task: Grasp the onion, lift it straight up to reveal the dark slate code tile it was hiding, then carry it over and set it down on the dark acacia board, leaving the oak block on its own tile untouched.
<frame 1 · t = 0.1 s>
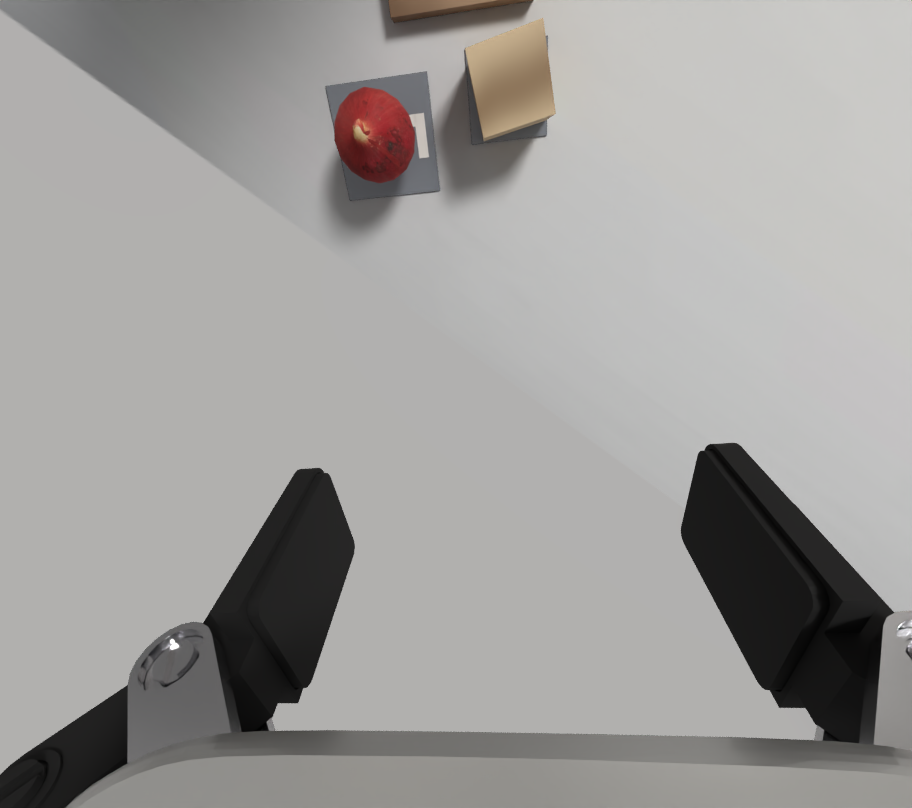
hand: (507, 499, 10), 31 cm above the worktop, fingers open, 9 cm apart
code tile: (385, 140, 33), on the worktop
onion: (385, 141, 33), resting on code tile
oak block: (507, 93, 31), resting on code tile 2
code tile 2: (507, 93, 31), on the worktop
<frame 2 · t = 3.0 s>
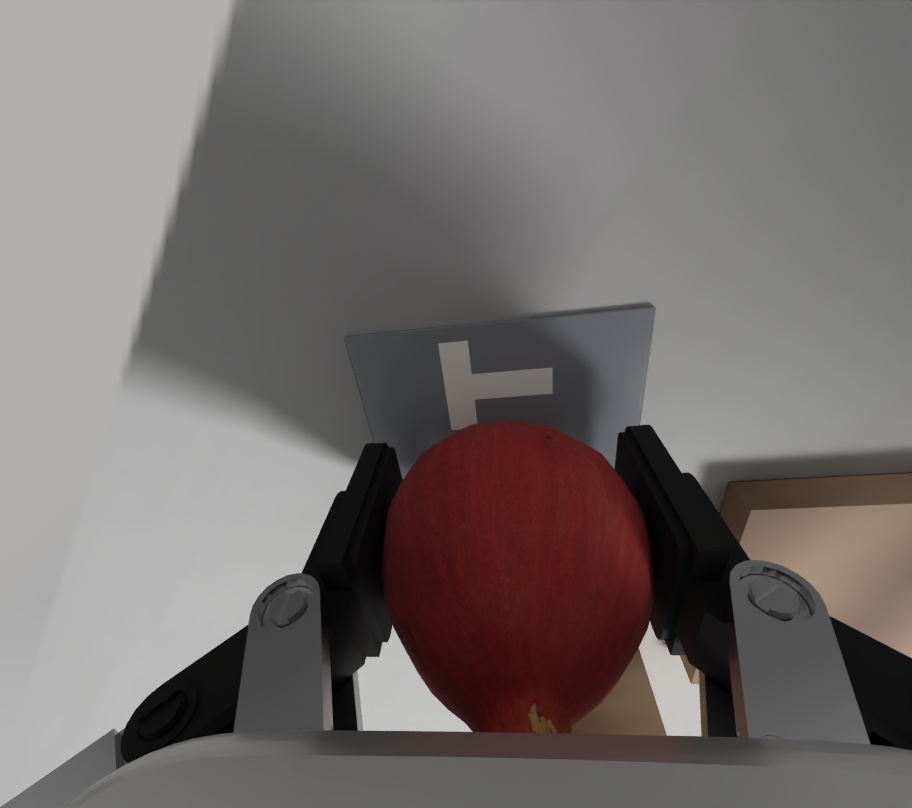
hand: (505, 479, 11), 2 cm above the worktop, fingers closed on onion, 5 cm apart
code tile: (502, 445, 12), on the worktop
onion: (502, 443, 12), resting on code tile, touching gripper
oak block: (564, 631, 17), resting on code tile 2
board: (875, 577, 14), on the worktop
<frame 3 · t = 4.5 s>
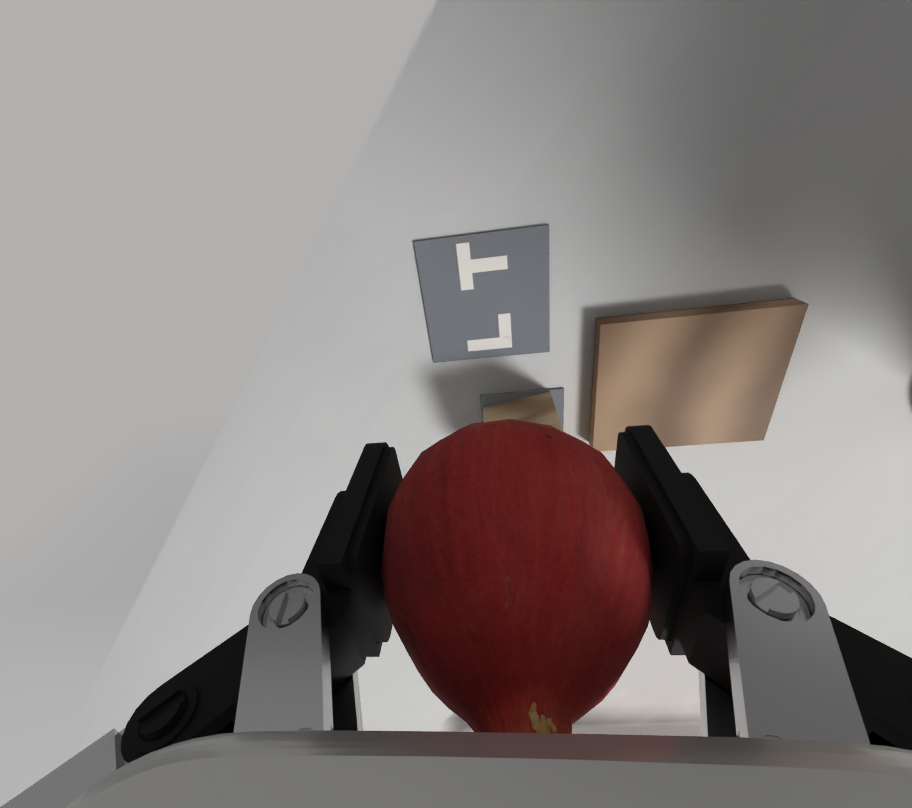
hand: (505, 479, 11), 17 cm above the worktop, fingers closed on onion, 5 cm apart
code tile: (485, 299, 26), on the worktop
onion: (502, 443, 12), point 15 cm above the worktop, touching gripper
oak block: (523, 426, 30), resting on code tile 2
code tile 2: (523, 425, 31), on the worktop
board: (680, 378, 28), on the worktop
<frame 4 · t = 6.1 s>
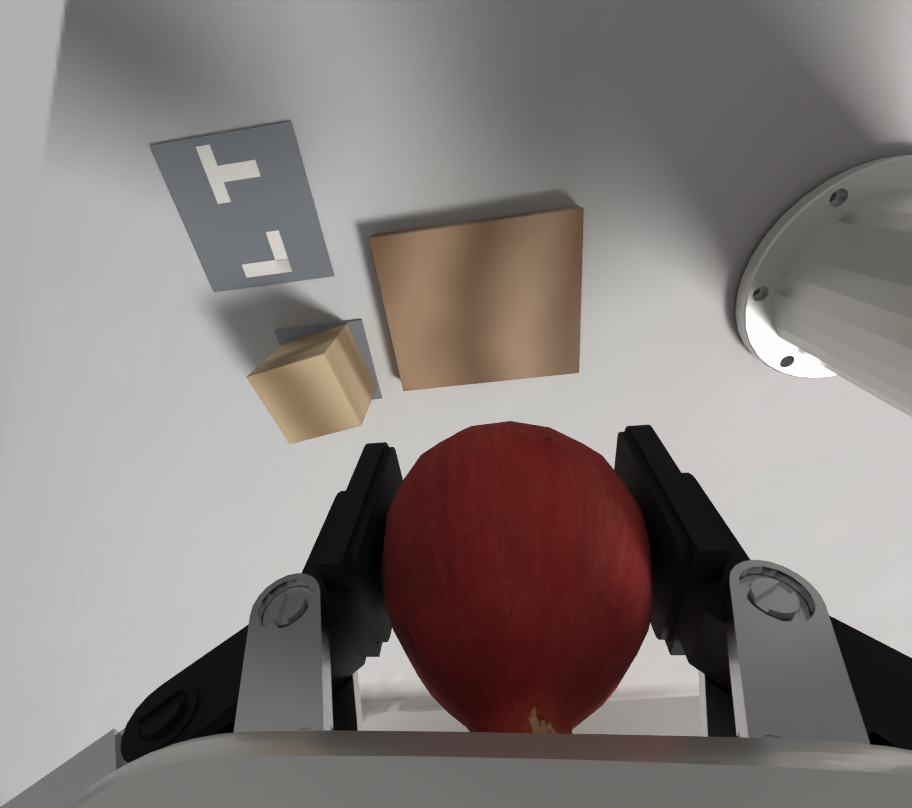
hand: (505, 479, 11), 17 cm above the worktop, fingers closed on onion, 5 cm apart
code tile: (248, 215, 23), on the worktop
onion: (502, 445, 12), point 15 cm above the worktop, touching gripper
oak block: (330, 366, 28), resting on code tile 2
code tile 2: (331, 365, 28), on the worktop
board: (481, 305, 26), on the worktop
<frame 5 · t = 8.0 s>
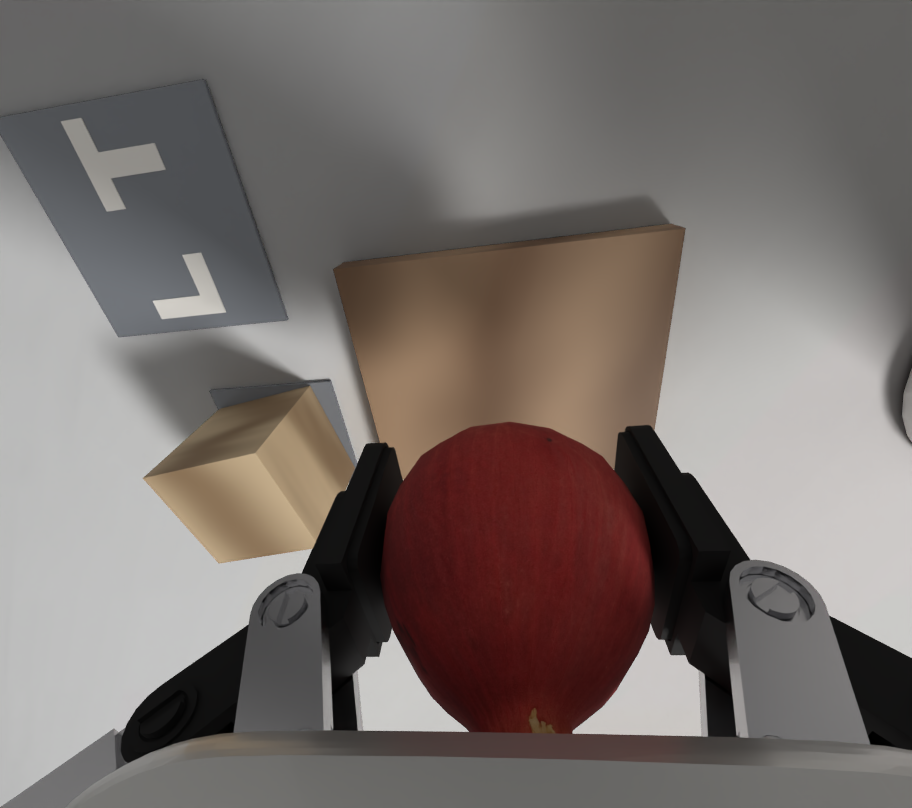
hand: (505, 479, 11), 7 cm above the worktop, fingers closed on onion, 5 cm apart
code tile: (155, 229, 15), on the worktop
onion: (502, 445, 12), point 6 cm above the worktop, touching gripper
oak block: (289, 439, 20), resting on code tile 2
code tile 2: (290, 437, 20), on the worktop
board: (506, 366, 17), on the worktop
when the fingers open (4 cm above the worktop, at t = 9.6 s): onion drops 1 cm, resting on board.
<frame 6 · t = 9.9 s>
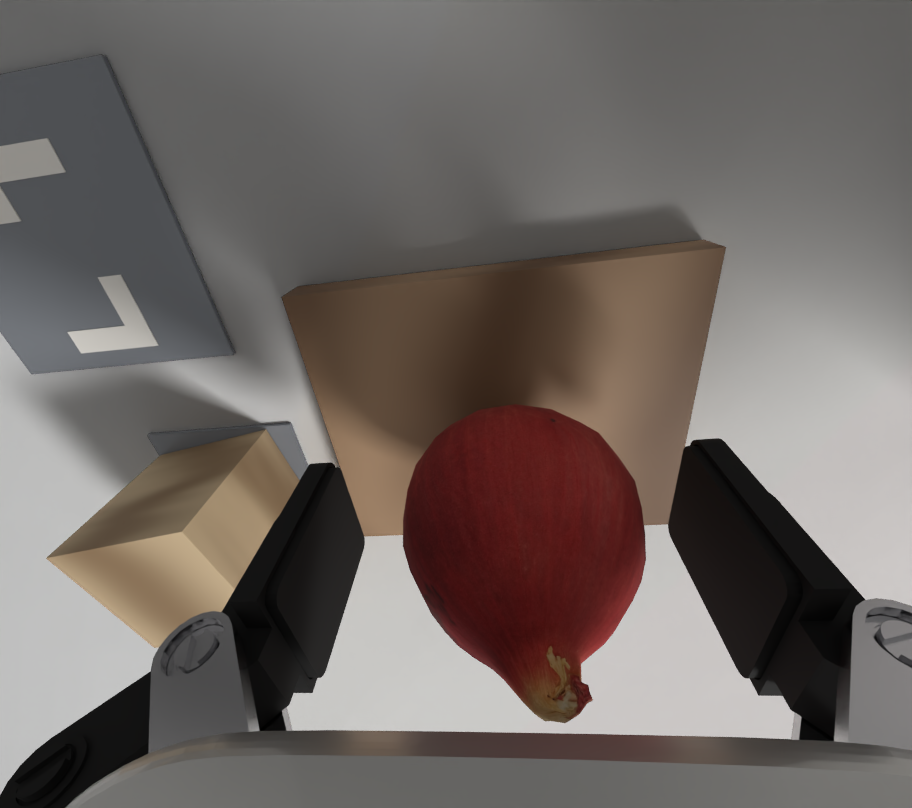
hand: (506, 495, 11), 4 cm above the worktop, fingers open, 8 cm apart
code tile: (62, 246, 12), on the worktop
onion: (503, 424, 13), point 1 cm above the worktop, touching board
oak block: (246, 488, 17), resting on code tile 2
code tile 2: (247, 486, 17), on the worktop
board: (500, 407, 14), on the worktop
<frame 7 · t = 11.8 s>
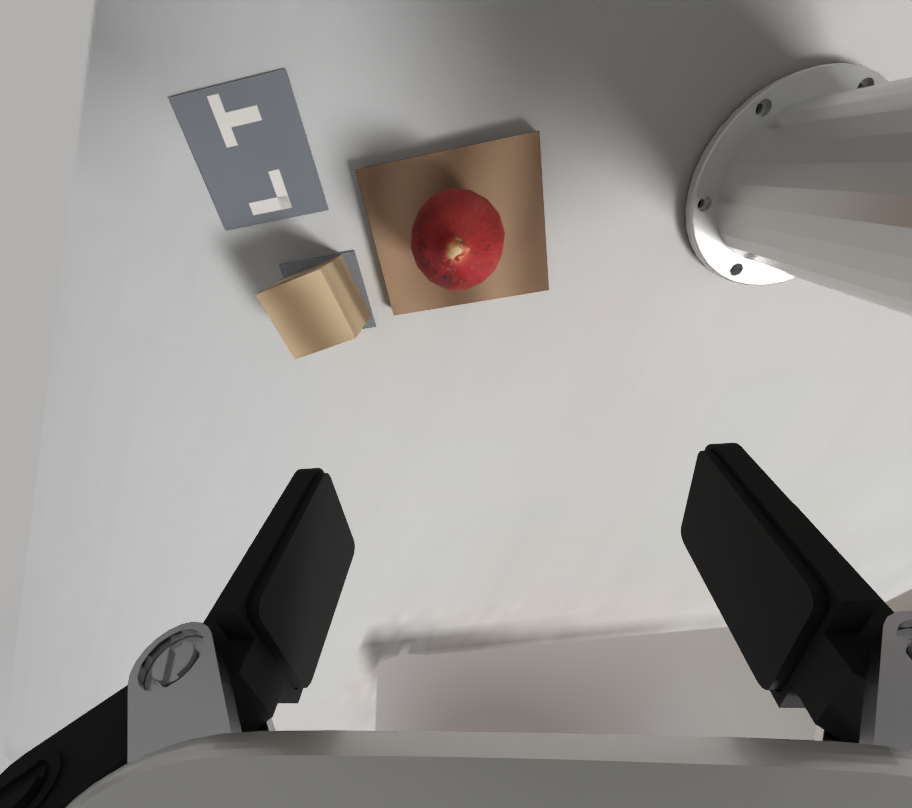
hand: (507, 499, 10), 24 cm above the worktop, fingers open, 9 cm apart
code tile: (253, 156, 27), on the worktop
onion: (459, 233, 28), point 1 cm above the worktop, touching board
oak block: (329, 296, 32), resting on code tile 2
code tile 2: (329, 296, 32), on the worktop
board: (458, 231, 29), on the worktop
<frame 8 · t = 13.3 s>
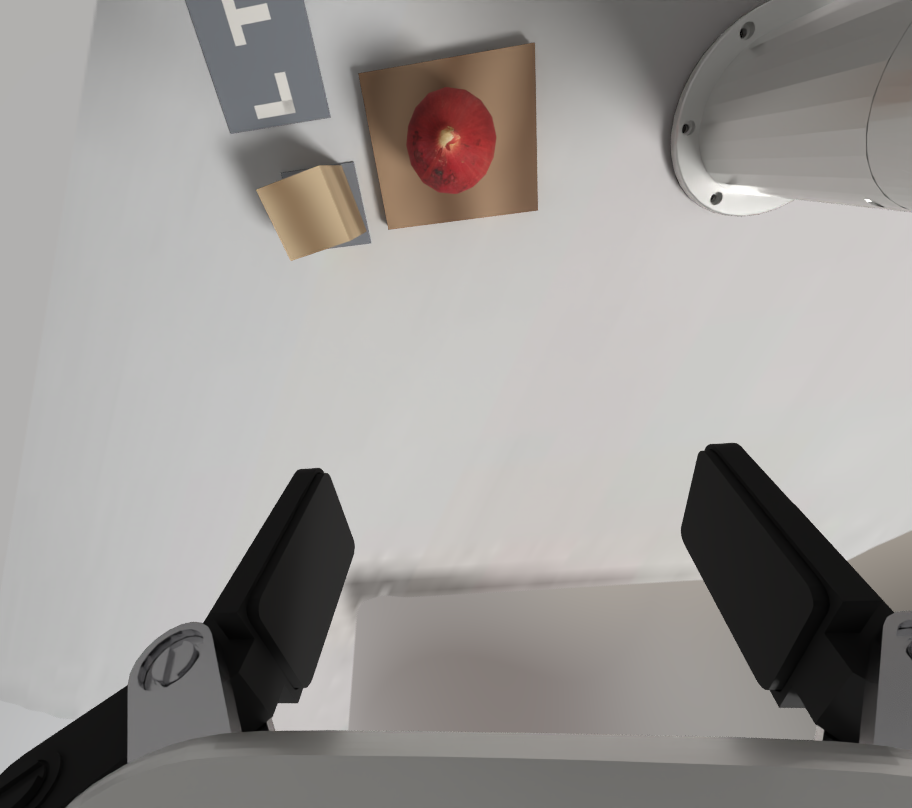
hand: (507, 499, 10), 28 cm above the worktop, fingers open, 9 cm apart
code tile: (260, 57, 28), on the worktop
onion: (454, 146, 30), point 1 cm above the worktop, touching board
oak block: (327, 209, 33), resting on code tile 2
code tile 2: (327, 209, 33), on the worktop
board: (454, 146, 30), on the worktop
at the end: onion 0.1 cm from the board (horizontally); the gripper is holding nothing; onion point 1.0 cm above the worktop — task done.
